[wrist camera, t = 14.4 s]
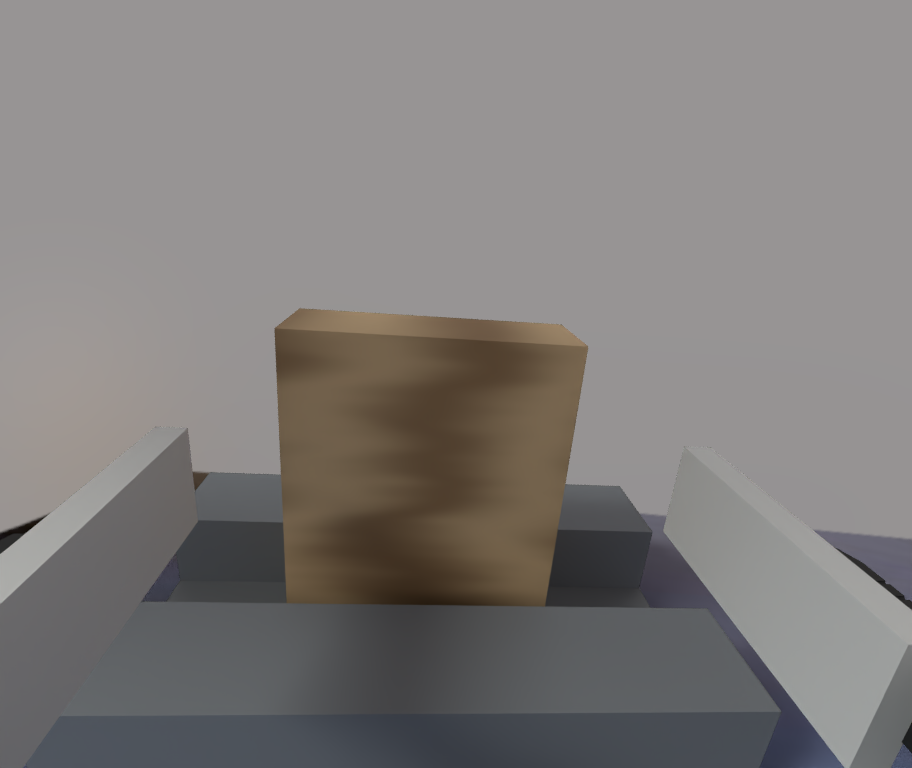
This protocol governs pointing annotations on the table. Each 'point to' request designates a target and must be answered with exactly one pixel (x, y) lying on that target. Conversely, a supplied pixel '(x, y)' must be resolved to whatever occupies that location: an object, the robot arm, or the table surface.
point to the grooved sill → (412, 665)
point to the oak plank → (423, 456)
